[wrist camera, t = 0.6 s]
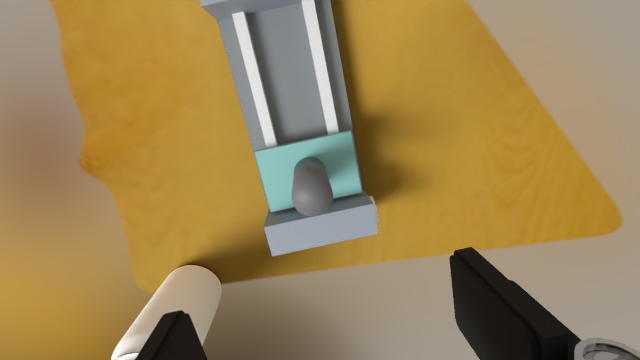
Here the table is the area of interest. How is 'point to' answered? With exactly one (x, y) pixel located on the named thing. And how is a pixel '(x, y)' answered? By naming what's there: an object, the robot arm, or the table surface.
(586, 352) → the robot arm
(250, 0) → the rail track
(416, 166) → the table surface
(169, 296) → the can
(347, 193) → the carriage
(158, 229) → the table surface
